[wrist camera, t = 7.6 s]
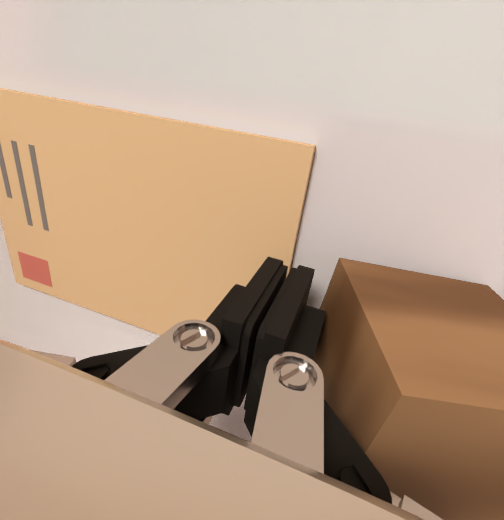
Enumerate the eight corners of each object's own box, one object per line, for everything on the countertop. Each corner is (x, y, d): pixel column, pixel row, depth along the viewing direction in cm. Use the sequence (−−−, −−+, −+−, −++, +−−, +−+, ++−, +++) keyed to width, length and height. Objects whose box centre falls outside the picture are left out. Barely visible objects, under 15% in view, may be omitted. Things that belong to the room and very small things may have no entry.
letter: (-25, 83, 14) (-33, 83, 14) (315, 145, 11) (314, 146, 10) (21, 280, 19) (16, 282, 19) (269, 369, 15) (267, 374, 15)
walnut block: (339, 258, 10) (402, 394, 6) (488, 285, 11) (648, 432, 6) (296, 370, 13) (318, 526, 8) (418, 388, 13) (500, 546, 9)
